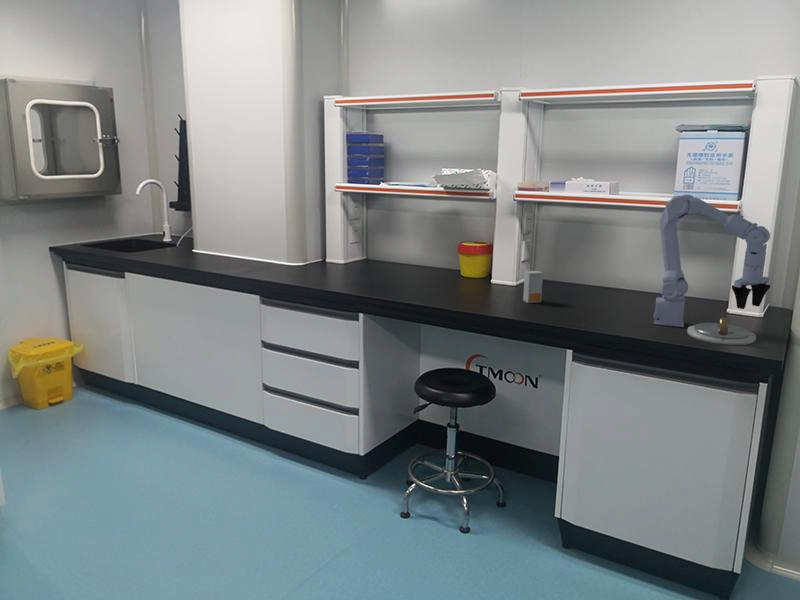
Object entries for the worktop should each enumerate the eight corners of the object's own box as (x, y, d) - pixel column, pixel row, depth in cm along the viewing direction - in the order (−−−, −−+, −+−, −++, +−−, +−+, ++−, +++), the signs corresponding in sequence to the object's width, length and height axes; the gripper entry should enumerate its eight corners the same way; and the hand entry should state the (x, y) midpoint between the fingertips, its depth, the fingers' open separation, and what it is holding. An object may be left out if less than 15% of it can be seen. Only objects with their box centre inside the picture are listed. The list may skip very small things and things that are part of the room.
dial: (693, 323, 219) (695, 306, 218) (746, 328, 213) (748, 311, 212) (694, 335, 205) (696, 317, 203) (751, 341, 199) (754, 322, 197)
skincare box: (527, 303, 253) (529, 273, 250) (522, 300, 257) (524, 271, 254) (541, 302, 254) (543, 272, 251) (536, 299, 258) (538, 270, 255)
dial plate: (687, 340, 204) (688, 336, 204) (686, 325, 222) (687, 321, 222) (759, 348, 196) (759, 344, 196) (752, 331, 214) (752, 327, 214)
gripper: (751, 269, 197) (745, 312, 200) (780, 265, 204) (774, 307, 207) (730, 265, 203) (724, 307, 206) (759, 262, 210) (753, 302, 213)
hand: (748, 307), depth 207 cm, fingers open, 7 cm apart
